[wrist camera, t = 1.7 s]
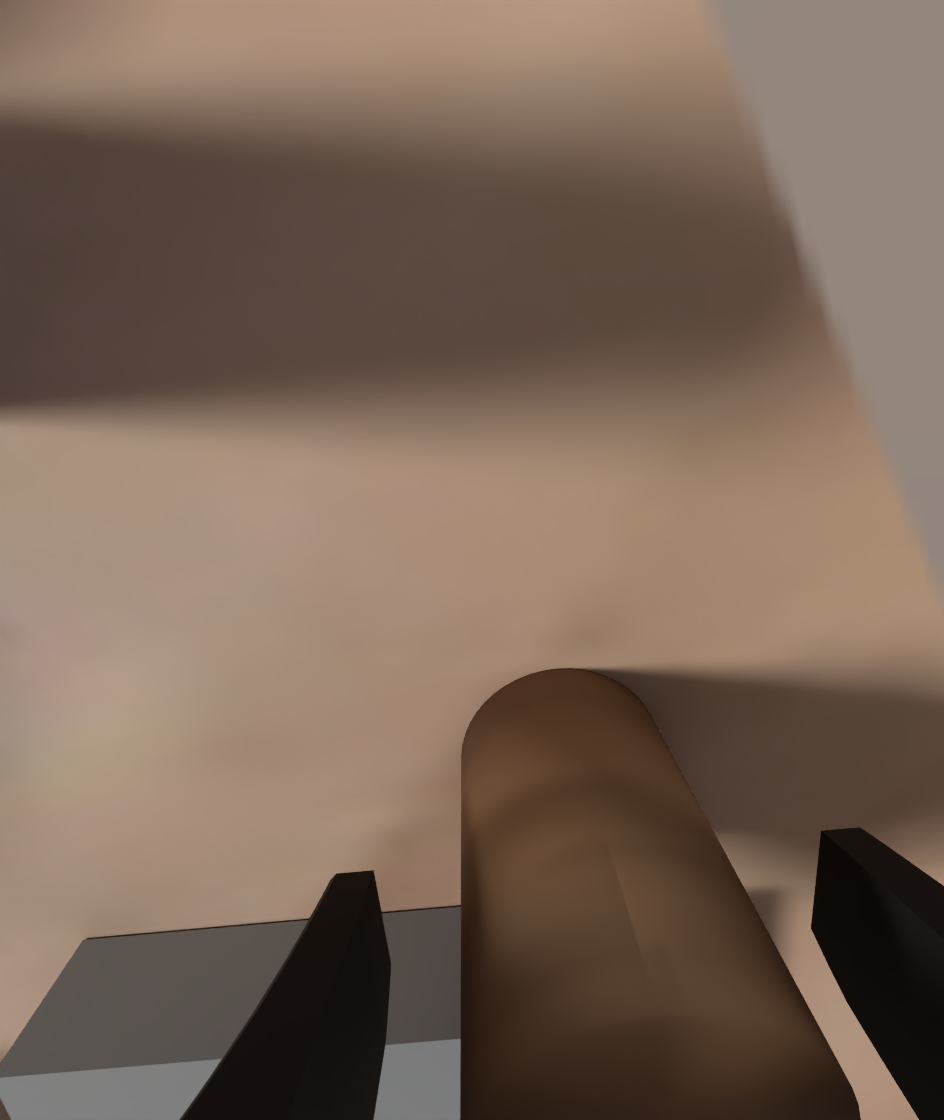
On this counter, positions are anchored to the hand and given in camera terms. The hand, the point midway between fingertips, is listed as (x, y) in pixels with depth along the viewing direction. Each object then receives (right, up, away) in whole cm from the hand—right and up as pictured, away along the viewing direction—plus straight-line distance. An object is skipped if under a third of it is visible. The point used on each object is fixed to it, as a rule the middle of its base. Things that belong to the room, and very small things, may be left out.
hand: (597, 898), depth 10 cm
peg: (0, +1, +4) cm, 4 cm away
